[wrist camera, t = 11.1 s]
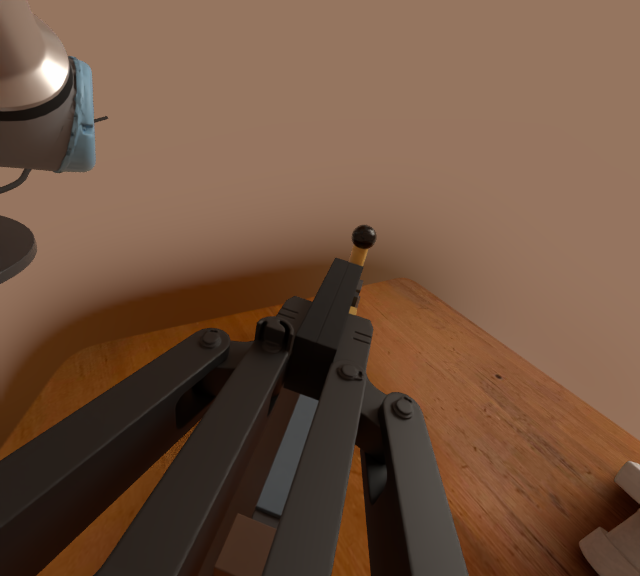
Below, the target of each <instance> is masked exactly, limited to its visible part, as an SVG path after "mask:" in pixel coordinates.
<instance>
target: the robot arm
mask: <svg viewBox="0 0 640 576" xmlns="http://www.w3.org/2000/svg"><path fill="white" fill-rule="evenodd" d="M105 119H108V117H107V116H105V117H102V118H98V119H94V109H93V88H92V72H91V69H90V67H89V65H88V64H86V63H84V62H83V61H80V60H78V59H76V58H75V57H72V56H67V53H66V51H65V48H64V46H63V44H62V42H61V41H60V39H59V38H58V36H57V35H56V34H55V33H54V32H53V30H52V29H51V28H50V27H49V26H48V25H47V24H46V23H45V22H44V21H42V20H41V19H40V18H39V17H37V16H36V15H35V14H33V13H32V11H31V9H30V6H29V3H28V0H0V167H12V168H24V171H23V173H22V175H21V176H20V178H19V179H18V180H16V181H14V182H13V183H10V184H8V185H6V186H3V187H0V194H1V193H4V192H7V191H9V190H11V189H13V188H16V187H17V186H19V185H21V184H22V183H23V182H24V181H25V180H26V178H27V177H28V174H29V172H30V171H31V170H32V169H36V170H46V171H47V170H48V171H53V172H55V173H61V172H87V171H89V170H91V169H92V168H93V167H94V165H95V161H96V159H95V158H96V157H95V134H94V133H95V132H94V123H95V122H98V121H102V120H105ZM362 270H363V266H360V265H357V264H354V263H351V262H348V261H345V260H341V259H338V258H335V260H334V262H333V263H332V265H331V267H330V269H329V271H328V273H327V275H326V277H325V279H324V281H323V283H322V285H321V287H320V289H319V291H318V292H317V295H316V296H315V298H314V300H313V302H311V301H308V300H305V299H302V298H300V297H297V296H294V297H292V298H290V299H288V300H286V302H285V303H284V305H283V306H282V308H281V309H280V311H279V312H278V314H277V315H276V317H275V316H273V317H265V318H262V319H261V320H259V321H258V322H257V326H256V333H255V340H254V341H250V342H238V341H230V338H229V335H228V334H227V333H226V332H224V331H222V330H220V329H216V328H207V329H202V330H200V331H198V332H196V333H194V334H193V335H191V336H190V337H188V338H187V339H185V340H183V341H182V342H180V343H179V344H177V345H176V346H174V347H173V348H171V349H170V350H168V351H167V352H165V353H164V354H162V355H161V356H159V357H158V358H156V359H155V360H153V361H152V362H150V363H148V364H147V365H145V366H144V367H142V368H141V369H139V370H138V371H136V372H135V373H133V374H132V375H130V376H129V377H127V378H126V379H124V380H123V381H121V382H120V383H118V384H117V385H115V386H113V387H112V388H110V389H109V390H107V391H106V392H104V393H103V394H101V395H100V396H98V397H97V398H95V399H94V400H92V401H91V402H89V403H88V404H86V405H85V406H83V407H81V408H80V409H78V410H77V411H75V412H74V413H72V414H71V415H69V416H68V417H66V418H65V419H63V420H62V421H60V422H59V423H57V424H56V425H54V426H53V427H51V428H50V429H48V430H46V431H45V432H43V433H42V434H40V435H39V436H37V437H36V438H34V439H33V440H31V441H30V442H28V443H27V444H25V445H24V446H22V447H21V448H19V449H18V450H16V451H15V452H13V453H11V454H10V455H8V456H7V457H5V458H4V459H2V460H1V461H0V576H36V575H37V574H38V573H39V572H40V571H42V570H43V569H44V568H45V567H46V566H47V565H48V564H49V563H50V562H51V561H52V560H53V559H54V558H55V557H56V556H57V555H58V554H59V553H60V552H62V551H63V550H64V549H65V548H66V547H67V546H68V545H69V544H70V543H71V542H72V541H73V540H74V539H75V538H76V537H77V536H78V535H79V534H80V533H82V532H83V531H84V530H85V529H86V528H87V527H88V526H89V525H90V524H91V523H92V522H93V521H94V520H95V519H96V518H97V517H98V516H99V515H100V514H102V513H103V512H104V511H105V510H106V509H107V508H108V507H109V506H110V505H111V504H112V503H113V502H114V501H115V500H116V499H117V498H118V497H119V496H120V495H122V494H123V493H124V492H125V491H126V490H127V489H128V488H129V487H130V486H131V485H132V484H133V483H134V482H135V481H136V480H137V479H138V478H139V477H140V476H142V475H143V474H144V473H145V472H146V471H147V470H148V469H149V468H150V467H151V466H152V465H153V464H154V463H155V462H156V461H157V460H158V459H159V458H160V457H162V456H163V455H164V454H165V453H166V452H167V451H168V450H169V449H170V448H171V447H172V446H173V445H174V444H175V443H176V442H177V441H178V440H179V439H180V438H181V437H183V436H184V435H185V434H186V433H187V432H188V431H189V430H190V429H191V428H192V427H193V426H194V425H195V424H196V423H197V422H198V421H199V420H200V419H201V418H202V419H201V420H200V422H199V423H198V425H197V426H196V428H195V429H194V431H193V432H192V434H191V435H190V437H189V438H188V440H187V441H186V443H185V444H184V446H183V447H182V449H181V450H180V451H179V453H178V454H177V456H176V457H175V459H174V460H173V462H172V463H171V465H170V466H169V468H168V469H167V471H166V472H165V474H164V475H163V477H162V478H161V480H160V481H159V483H158V484H157V486H156V487H155V489H154V490H153V492H152V493H151V495H150V496H149V497H148V499H147V500H146V502H145V503H144V505H143V506H142V508H141V509H140V511H139V512H138V514H137V515H136V517H135V518H134V520H133V521H132V523H131V524H130V526H129V527H128V529H127V530H126V532H125V533H124V535H123V536H122V538H121V539H120V541H119V542H118V543H117V545H116V546H115V548H114V549H113V551H112V552H111V554H110V555H109V557H108V558H107V560H106V561H105V563H104V564H103V565H102V567H101V568H100V569H99V570H98V571H97V572H96V573H95V574H94V575H93V576H198V574H199V572H200V569H201V567H202V565H203V563H204V561H205V558H206V556H207V554H208V552H209V550H210V548H211V545H212V543H213V541H214V539H215V537H216V534H217V532H218V530H219V528H220V526H221V524H222V521H223V519H224V517H225V515H226V513H227V510H228V508H229V506H230V504H231V502H232V500H233V497H234V495H235V493H236V491H237V489H238V486H239V484H240V482H241V480H242V478H243V476H244V473H245V471H246V469H247V467H248V465H249V462H250V460H251V458H252V456H253V454H254V452H255V449H256V447H257V445H258V443H259V441H260V438H261V436H262V434H263V432H264V430H265V428H266V425H267V423H268V421H269V419H270V417H271V414H272V412H273V410H274V408H275V406H276V404H277V401H278V399H279V395H280V390H281V388H282V386H283V384H284V386H283V388H285V389H288V390H291V391H294V392H296V393H299V394H302V395H304V396H307V397H310V398H313V399H315V400H318V401H319V402H318V405H317V408H316V411H315V414H314V417H313V420H312V423H311V426H310V429H309V432H308V435H307V438H306V441H305V444H304V447H303V450H302V453H301V456H300V459H299V463H298V466H297V469H296V472H295V475H294V478H293V481H292V484H291V487H290V490H289V493H288V496H287V499H286V502H285V505H284V508H283V511H282V514H281V517H280V520H279V523H278V526H277V530H276V533H275V536H274V539H273V542H272V545H271V548H270V551H269V554H268V557H267V560H266V563H265V566H264V569H263V572H262V575H261V576H331V573H332V568H333V562H334V557H335V551H336V546H337V540H338V534H339V529H340V523H341V518H342V512H343V507H344V501H345V496H346V490H347V485H348V479H349V474H350V468H351V463H352V457H353V451H354V446H355V445H357V446H358V447H359V448H360V455H361V466H362V478H363V489H364V501H365V512H366V524H367V535H368V547H369V558H370V570H371V576H469V575H468V571H467V568H466V564H465V561H464V557H463V554H462V550H461V547H460V543H459V540H458V536H457V532H456V529H455V525H454V522H453V518H452V515H451V511H450V508H449V504H448V501H447V497H446V494H445V490H444V487H443V483H442V480H441V476H440V473H439V469H438V466H437V462H436V459H435V455H434V452H433V448H432V445H431V441H430V438H429V434H428V431H427V427H426V424H425V420H424V417H423V413H422V411H421V409H420V406H419V405H418V404H417V403H416V402H415V400H414V399H412V398H411V397H409V396H408V395H406V394H403V393H399V392H392V393H390V394H388V395H386V394H384V393H383V392H381V391H380V390H378V389H377V388H376V387H374V386H373V385H372V383H371V382H370V381H369V379H368V377H367V374H366V366H367V361H368V355H369V350H370V344H371V339H372V334H373V326H372V324H371V321H370V320H368V319H365V318H362V317H359V316H356V315H353V314H350V313H349V311H350V307H351V304H352V301H353V298H354V295H355V292H356V289H357V285H358V282H359V279H360V276H361V273H362Z"/></svg>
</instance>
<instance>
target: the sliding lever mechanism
mask: <svg viewBox="0 0 640 576" xmlns="http://www.w3.org/2000/svg"><path fill="white" fill-rule="evenodd" d="M362 283H363V280H360V279H359V282H358V285H357V289H356V292H355V295H354V298H353V301H352V304H351V307H350V311H349V313H350V314H353V315H356V311H357V307H358V304H359V300H360V296H359V293H360V290H361V287H362ZM283 386H284V384H283ZM283 386H282V388H281V390H280V395H279V399H278V401H277V404H276V406H275V408H274V410H273V412H272V414H271V417H270V419H269V421H268V423H267V425H266V428H265V430H264V432H263V434H262V436H261V438H260V441H259V443H258V445H257V447H256V449H255V452H254V454H253V456H252V458H251V460H250V462H249V465H248V467H247V469H246V471H245V473H244V476H243V478H242V480H241V482H240V484H239V486H238V489H237V491H236V493H235V495H234V497H233V500H232V502H231V504H230V506H229V508H228V510H227V513H226V515H225V517H224V519H223V521H222V524H221V526H220V528H219V530H218V532H217V534H216V537H215V539H214V541H213V543H212V545H211V548H210V550H209V552H208V554H207V556H206V558H205V561H204V563H203V565H202V567H201V569H200V572H199V574H198V576H261V575H262V572H263V569H264V566H265V563H266V560H267V557H268V554H269V551H270V548H271V545H272V542H273V539H274V536H275V533H276V530H277V526H278V523H279V520H280V517H281V514H282V511H283V508H284V505H285V502H286V499H287V496H288V493H289V490H290V487H291V484H292V481H293V478H294V475H295V472H296V469H297V466H298V463H299V459H300V456H301V453H302V450H303V447H304V444H305V441H306V438H307V435H308V432H309V429H310V426H311V423H312V420H313V417H314V414H315V411H316V408H317V405H318V402H319V401H318V400H315V399H313V398H310V397H307V396H304V395H302V394H299V393H296V392H294V391H291V390H288V389H285V388H283Z"/></svg>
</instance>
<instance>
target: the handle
mask: <svg viewBox="0 0 640 576" xmlns="http://www.w3.org/2000/svg"><path fill="white" fill-rule="evenodd" d="M614 481H615V482H616V483H617V484H618V485H619V486H620V487H621V488H622V489H623V490H624V491H625V492H627V493H628V494H629V495H630V496H631V497H632V498H633V499H634V500H635V501H636V502H637V503H639V504H640V465H639V464H637V463H634V462H631V461H628V462H626V463H625V464H624V465H623V467H622V468H621V469H620V470H619V472H618V473H617V475H616V477H615V479H614ZM637 511H638V512H636V513H635V514H633V515H632V516H631V517H629V518H628V519H627V520H625V521H624V522H622V523H621V524H620V525H618V526H617V527H615V528H614V529H613V530H611V531H610V532H607V531H606V530H604V529H603V528H601V527H598V528H597V529H595V530H594V531H593V532H591V533H590V534H589V535H587V536H586V537H585V538H583V539H582V540H581V541H579V546H580V549H581V551H582V553H583V555H584V556H585V558H586V559H587V561H588V562H589V563H590V565H591V566H592V567H593V568H594V570H595V571H596V572H597V573H598V574H599V575H600V576H640V509H638V510H637Z"/></svg>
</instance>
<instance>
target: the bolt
mask: <svg viewBox="0 0 640 576" xmlns="http://www.w3.org/2000/svg"><path fill="white" fill-rule="evenodd" d="M375 241H376V232H375V230H374V229H373V228H372V227H370V226H368V225H360V226H358V227H357V228H355V230H354V231H353V233H352V242H353V243H354V245H353V249H352V252H351V256H350V259H349V262H351V263H354V264H357V265H360V266H363V264H364V261H365V257H366V255H367V252H368V249H369V248H370V247H372V246H373V245H374V243H375Z"/></svg>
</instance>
